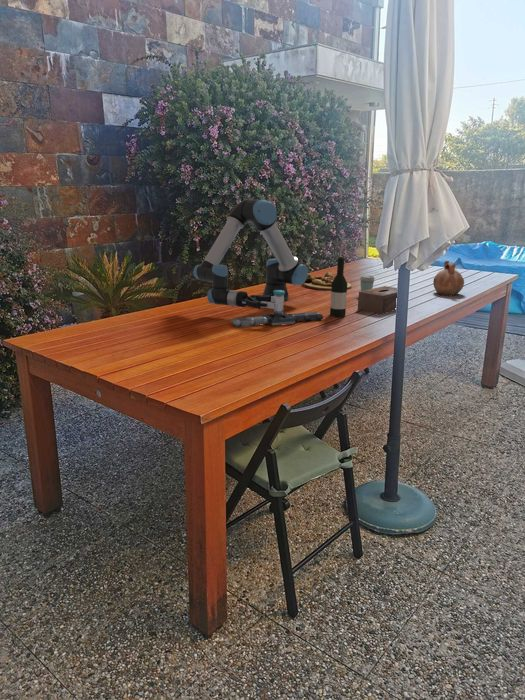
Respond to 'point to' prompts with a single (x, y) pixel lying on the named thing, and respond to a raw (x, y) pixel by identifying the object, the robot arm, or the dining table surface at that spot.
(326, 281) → the wooden plate with food
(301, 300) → the dining table surface
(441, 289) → the jug
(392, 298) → the tissue box cover
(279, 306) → the steel pin
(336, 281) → the wine bottle
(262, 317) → the chain ends
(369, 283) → the coffee cup
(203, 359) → the dining table surface
